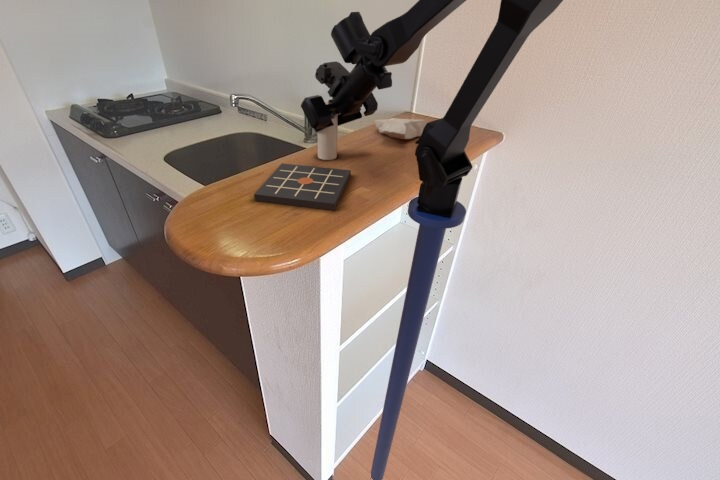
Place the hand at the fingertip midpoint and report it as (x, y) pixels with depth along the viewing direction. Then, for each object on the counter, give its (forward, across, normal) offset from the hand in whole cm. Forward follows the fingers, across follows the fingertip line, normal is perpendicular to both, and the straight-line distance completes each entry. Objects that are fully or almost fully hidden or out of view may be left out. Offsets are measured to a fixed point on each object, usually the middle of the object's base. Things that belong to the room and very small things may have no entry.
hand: (323, 127), depth 84 cm
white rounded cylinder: (+4, 0, +6) cm, 7 cm away
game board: (-4, +15, +13) cm, 20 cm away
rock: (+4, -26, +6) cm, 27 cm away
